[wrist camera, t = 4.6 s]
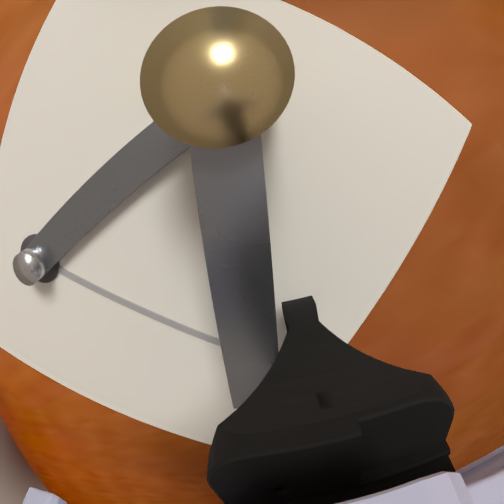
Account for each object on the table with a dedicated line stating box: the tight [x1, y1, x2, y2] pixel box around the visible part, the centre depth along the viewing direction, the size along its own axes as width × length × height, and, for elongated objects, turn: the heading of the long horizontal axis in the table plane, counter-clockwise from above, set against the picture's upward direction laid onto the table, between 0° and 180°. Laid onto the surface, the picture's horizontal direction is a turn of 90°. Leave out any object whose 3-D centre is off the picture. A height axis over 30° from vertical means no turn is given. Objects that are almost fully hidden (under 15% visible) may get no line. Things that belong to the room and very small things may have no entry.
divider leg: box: [140, 6, 295, 409], centre depth 9 cm, size 12×3×3 cm, turn 6°
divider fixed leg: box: [13, 121, 189, 286], centre depth 10 cm, size 10×1×1 cm, turn 125°
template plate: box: [0, 0, 472, 445], centre depth 12 cm, size 20×17×2 cm
